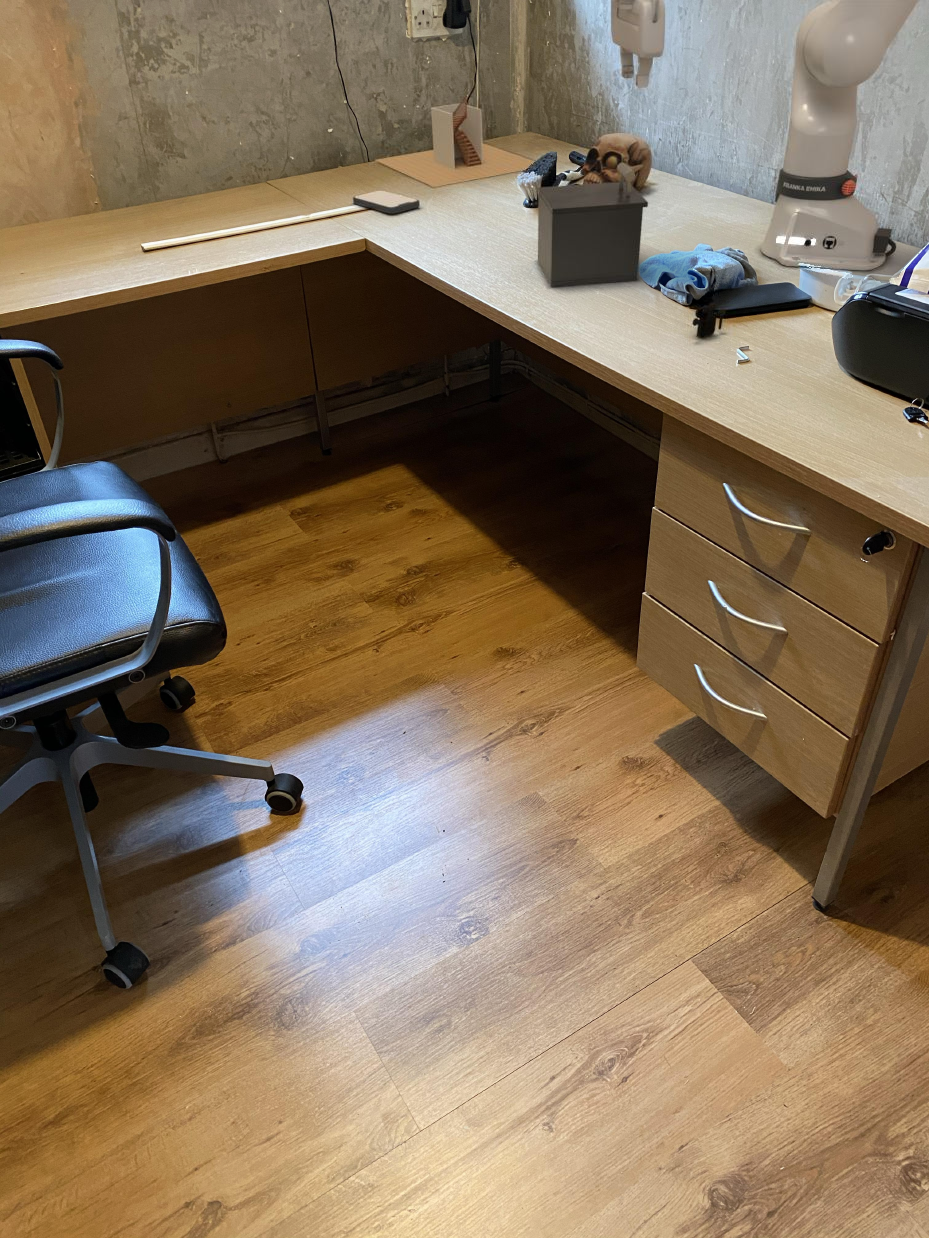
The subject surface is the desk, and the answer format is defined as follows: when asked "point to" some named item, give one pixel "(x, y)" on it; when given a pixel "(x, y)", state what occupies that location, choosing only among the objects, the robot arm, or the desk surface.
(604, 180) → the brown skull
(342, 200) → the desk surface
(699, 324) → the black knobbed bracket
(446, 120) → the staircase
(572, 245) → the waste bin
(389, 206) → the phone case
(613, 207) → the bin lid
